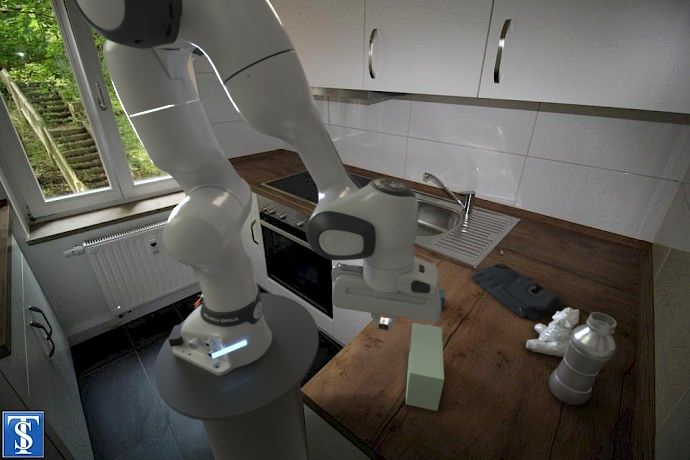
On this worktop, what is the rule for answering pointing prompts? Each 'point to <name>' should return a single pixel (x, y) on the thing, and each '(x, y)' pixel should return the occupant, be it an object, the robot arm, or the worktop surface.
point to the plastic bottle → (584, 359)
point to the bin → (425, 367)
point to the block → (442, 297)
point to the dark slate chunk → (517, 291)
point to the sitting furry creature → (555, 333)
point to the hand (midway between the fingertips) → (383, 327)
